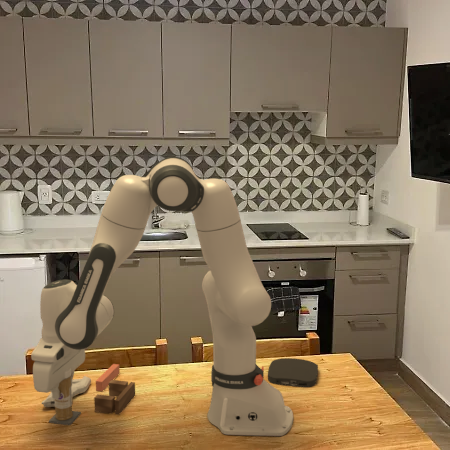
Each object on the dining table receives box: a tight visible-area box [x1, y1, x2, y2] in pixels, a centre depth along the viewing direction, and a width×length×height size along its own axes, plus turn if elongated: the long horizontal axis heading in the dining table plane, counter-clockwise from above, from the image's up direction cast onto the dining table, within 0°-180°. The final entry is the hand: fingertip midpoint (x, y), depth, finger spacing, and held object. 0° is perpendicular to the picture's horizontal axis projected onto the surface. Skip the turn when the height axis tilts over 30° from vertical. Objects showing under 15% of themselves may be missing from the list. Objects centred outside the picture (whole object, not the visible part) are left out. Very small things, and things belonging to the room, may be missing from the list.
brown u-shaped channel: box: [93, 379, 136, 416], centre depth 160 cm, size 7×11×4 cm, turn 166°
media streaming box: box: [267, 357, 319, 388], centre depth 177 cm, size 15×15×3 cm
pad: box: [48, 410, 82, 426], centre depth 152 cm, size 6×6×1 cm
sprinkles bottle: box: [54, 368, 73, 420], centre depth 151 cm, size 5×5×14 cm
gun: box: [41, 375, 92, 408], centre depth 164 cm, size 18×3×10 cm
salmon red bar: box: [95, 363, 121, 392], centre depth 173 cm, size 2×12×3 cm, turn 166°
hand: (62, 392), depth 151 cm, fingers closed on sprinkles bottle, 4 cm apart
